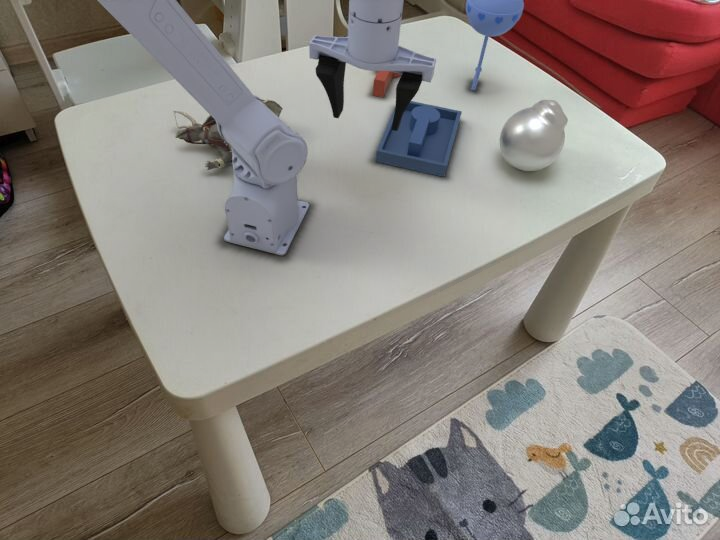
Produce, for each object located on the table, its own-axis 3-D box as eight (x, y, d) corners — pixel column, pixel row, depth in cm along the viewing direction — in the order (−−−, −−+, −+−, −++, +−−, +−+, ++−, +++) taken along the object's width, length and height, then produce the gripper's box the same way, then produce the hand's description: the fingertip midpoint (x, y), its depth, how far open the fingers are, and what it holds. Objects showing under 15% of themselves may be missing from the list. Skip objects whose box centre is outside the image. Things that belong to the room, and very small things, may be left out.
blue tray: (444, 177, 74) (446, 166, 73) (375, 161, 75) (376, 150, 74) (459, 122, 83) (461, 111, 81) (397, 109, 84) (398, 98, 83)
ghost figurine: (565, 182, 75) (593, 123, 67) (503, 185, 74) (524, 125, 66) (542, 143, 81) (566, 85, 73) (484, 146, 79) (502, 86, 72)
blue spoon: (427, 163, 75) (430, 146, 73) (397, 156, 76) (400, 139, 73) (439, 122, 82) (443, 105, 79) (412, 116, 82) (415, 99, 80)
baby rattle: (494, 106, 86) (528, -6, 72) (444, 95, 88) (467, -18, 74) (501, 81, 92) (534, -29, 78) (454, 70, 93) (477, -39, 79)
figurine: (146, 137, 68) (186, 71, 78) (159, 174, 72) (196, 107, 83) (297, 145, 66) (317, 77, 77) (301, 182, 71) (319, 113, 82)
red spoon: (390, 99, 86) (392, 82, 84) (365, 93, 87) (366, 77, 84) (404, 67, 93) (406, 51, 90) (380, 62, 93) (382, 46, 91)
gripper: (448, 7, 57) (428, 114, 67) (322, -16, 59) (322, 92, 69) (436, 36, 53) (417, 146, 63) (301, 10, 54) (304, 121, 65)
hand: (366, 119), depth 66 cm, fingers open, 7 cm apart
